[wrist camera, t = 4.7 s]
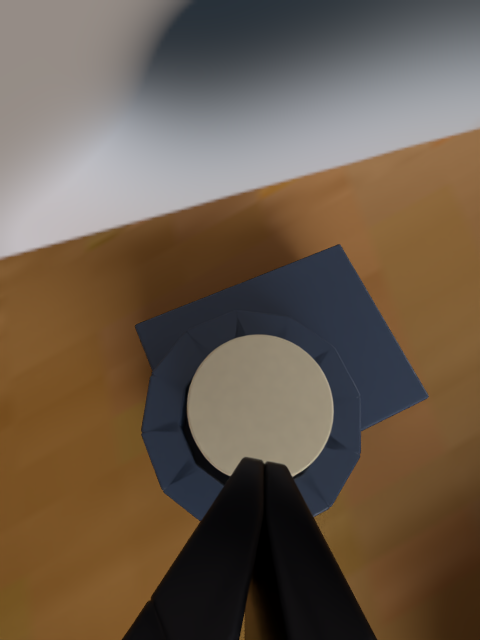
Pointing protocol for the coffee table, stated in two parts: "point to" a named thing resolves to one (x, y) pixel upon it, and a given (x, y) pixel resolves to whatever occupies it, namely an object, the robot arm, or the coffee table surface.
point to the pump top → (260, 404)
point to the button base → (292, 325)
